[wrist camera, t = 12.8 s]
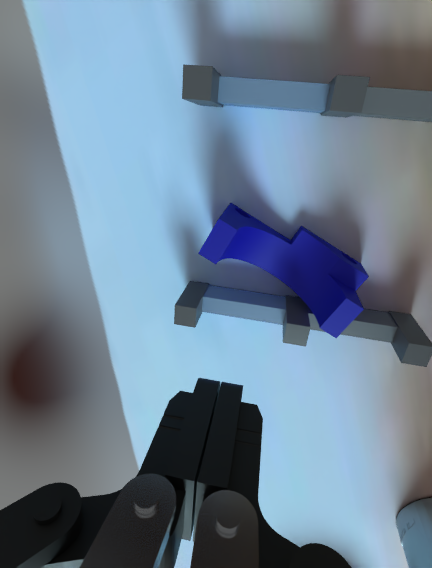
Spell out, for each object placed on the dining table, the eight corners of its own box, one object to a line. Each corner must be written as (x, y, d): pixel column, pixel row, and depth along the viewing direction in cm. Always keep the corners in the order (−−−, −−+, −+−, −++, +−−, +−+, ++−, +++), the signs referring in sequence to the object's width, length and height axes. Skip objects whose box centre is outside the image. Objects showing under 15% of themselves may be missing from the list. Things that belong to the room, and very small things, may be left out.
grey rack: (493, 98, 22) (547, 89, 17) (404, 331, 30) (426, 367, 25) (201, 77, 24) (183, 64, 20) (189, 297, 32) (174, 323, 28)
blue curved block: (360, 262, 28) (379, 293, 23) (326, 301, 30) (336, 338, 25) (240, 186, 27) (230, 199, 22) (213, 231, 29) (198, 253, 24)
